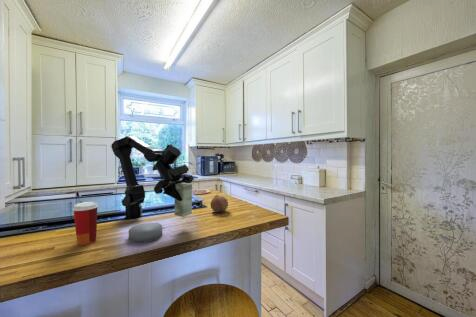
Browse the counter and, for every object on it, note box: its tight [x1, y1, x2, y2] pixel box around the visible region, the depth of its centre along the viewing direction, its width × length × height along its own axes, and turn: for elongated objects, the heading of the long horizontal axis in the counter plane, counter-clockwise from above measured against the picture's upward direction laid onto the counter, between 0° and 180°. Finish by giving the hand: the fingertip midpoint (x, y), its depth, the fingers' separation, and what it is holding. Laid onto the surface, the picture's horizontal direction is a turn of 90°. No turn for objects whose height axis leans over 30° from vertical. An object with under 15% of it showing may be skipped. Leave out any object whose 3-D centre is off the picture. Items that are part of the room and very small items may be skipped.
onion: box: [210, 194, 229, 214], centre depth 112 cm, size 10×9×10 cm
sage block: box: [174, 183, 193, 218], centre depth 88 cm, size 5×5×13 cm
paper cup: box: [71, 201, 99, 246], centre depth 76 cm, size 8×8×14 cm
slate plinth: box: [128, 222, 163, 244], centre depth 82 cm, size 12×12×3 cm
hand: (185, 199), depth 87 cm, fingers closed on sage block, 5 cm apart
